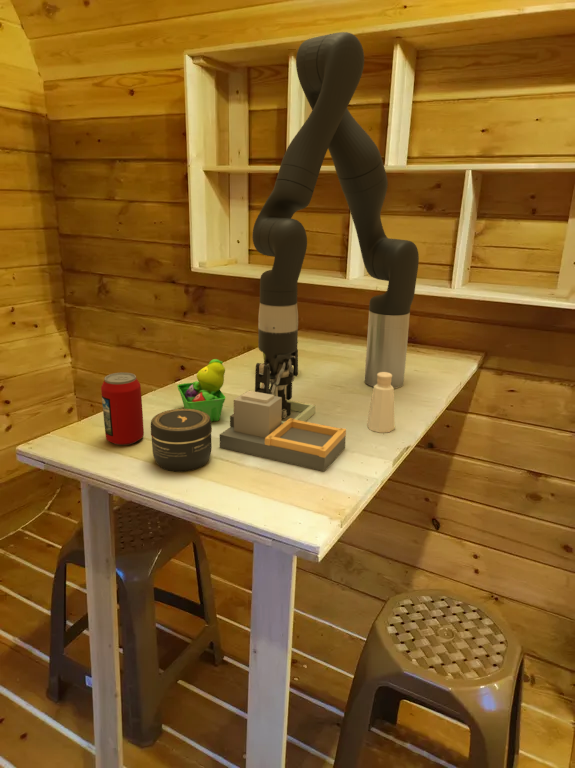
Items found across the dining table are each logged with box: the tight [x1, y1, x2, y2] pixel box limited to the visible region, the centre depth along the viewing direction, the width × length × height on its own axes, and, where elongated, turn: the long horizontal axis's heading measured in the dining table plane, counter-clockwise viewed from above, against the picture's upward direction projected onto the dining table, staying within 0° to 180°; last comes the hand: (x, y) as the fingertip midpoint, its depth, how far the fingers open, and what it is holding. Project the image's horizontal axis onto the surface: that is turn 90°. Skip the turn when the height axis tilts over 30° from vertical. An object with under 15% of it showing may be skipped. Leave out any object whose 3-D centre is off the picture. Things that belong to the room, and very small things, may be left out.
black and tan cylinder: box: [270, 369, 293, 419], centre depth 116 cm, size 7×5×10 cm
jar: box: [150, 408, 213, 473], centre depth 98 cm, size 10×10×8 cm
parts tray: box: [281, 399, 316, 423], centre depth 117 cm, size 12×12×2 cm
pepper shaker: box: [366, 372, 396, 434], centre depth 112 cm, size 5×5×11 cm
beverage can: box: [100, 372, 145, 446], centre depth 105 cm, size 7×7×12 cm
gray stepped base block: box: [219, 390, 347, 472], centre depth 103 cm, size 10×20×9 cm, turn 65°
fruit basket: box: [176, 358, 226, 423], centre depth 117 cm, size 11×9×11 cm
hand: (277, 405), depth 117 cm, fingers open, 8 cm apart
